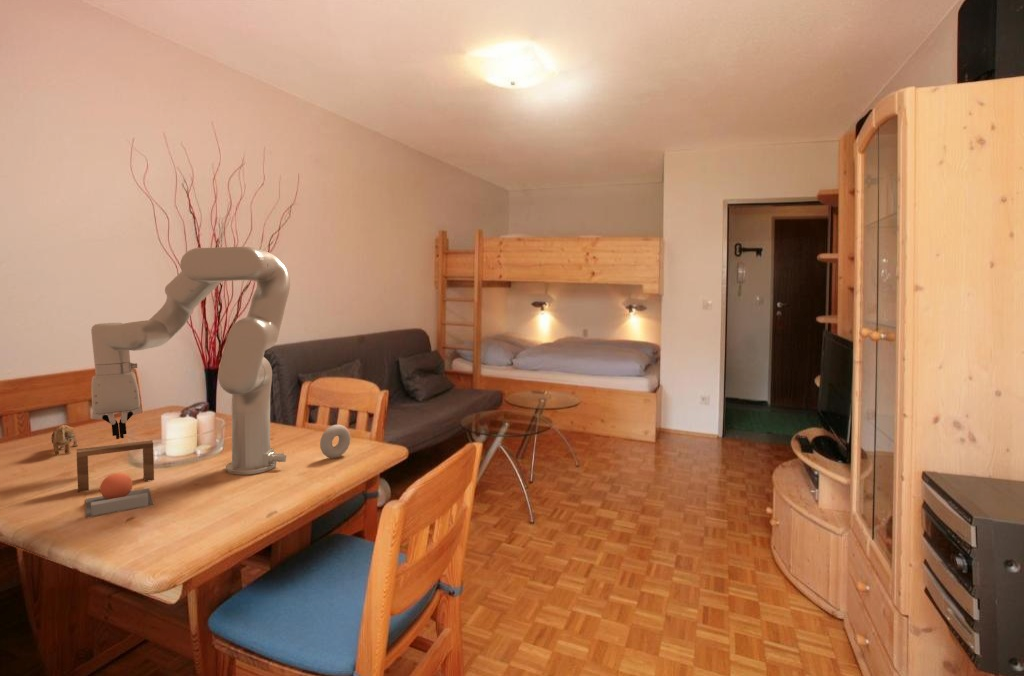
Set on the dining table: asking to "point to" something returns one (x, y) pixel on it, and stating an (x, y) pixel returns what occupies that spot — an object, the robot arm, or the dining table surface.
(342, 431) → the donut
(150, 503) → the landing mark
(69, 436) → the brown toy animal
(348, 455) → the dining table surface
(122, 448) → the bridge
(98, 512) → the wall
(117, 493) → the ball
